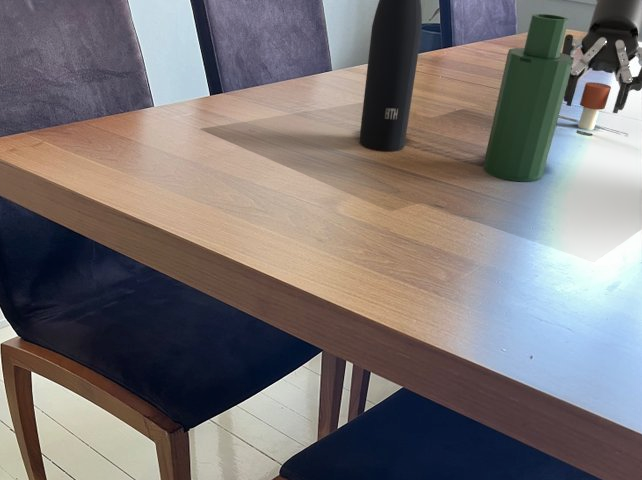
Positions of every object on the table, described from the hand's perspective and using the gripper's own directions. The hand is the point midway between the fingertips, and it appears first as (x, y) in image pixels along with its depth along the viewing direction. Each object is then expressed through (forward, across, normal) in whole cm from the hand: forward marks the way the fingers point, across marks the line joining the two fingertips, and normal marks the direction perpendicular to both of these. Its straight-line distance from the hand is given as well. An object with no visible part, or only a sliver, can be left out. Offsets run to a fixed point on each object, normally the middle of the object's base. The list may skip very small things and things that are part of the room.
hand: (592, 106), depth 112 cm
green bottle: (+21, +8, +15) cm, 27 cm away
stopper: (+2, 0, -4) cm, 5 cm away
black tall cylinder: (+20, +26, +14) cm, 36 cm away
